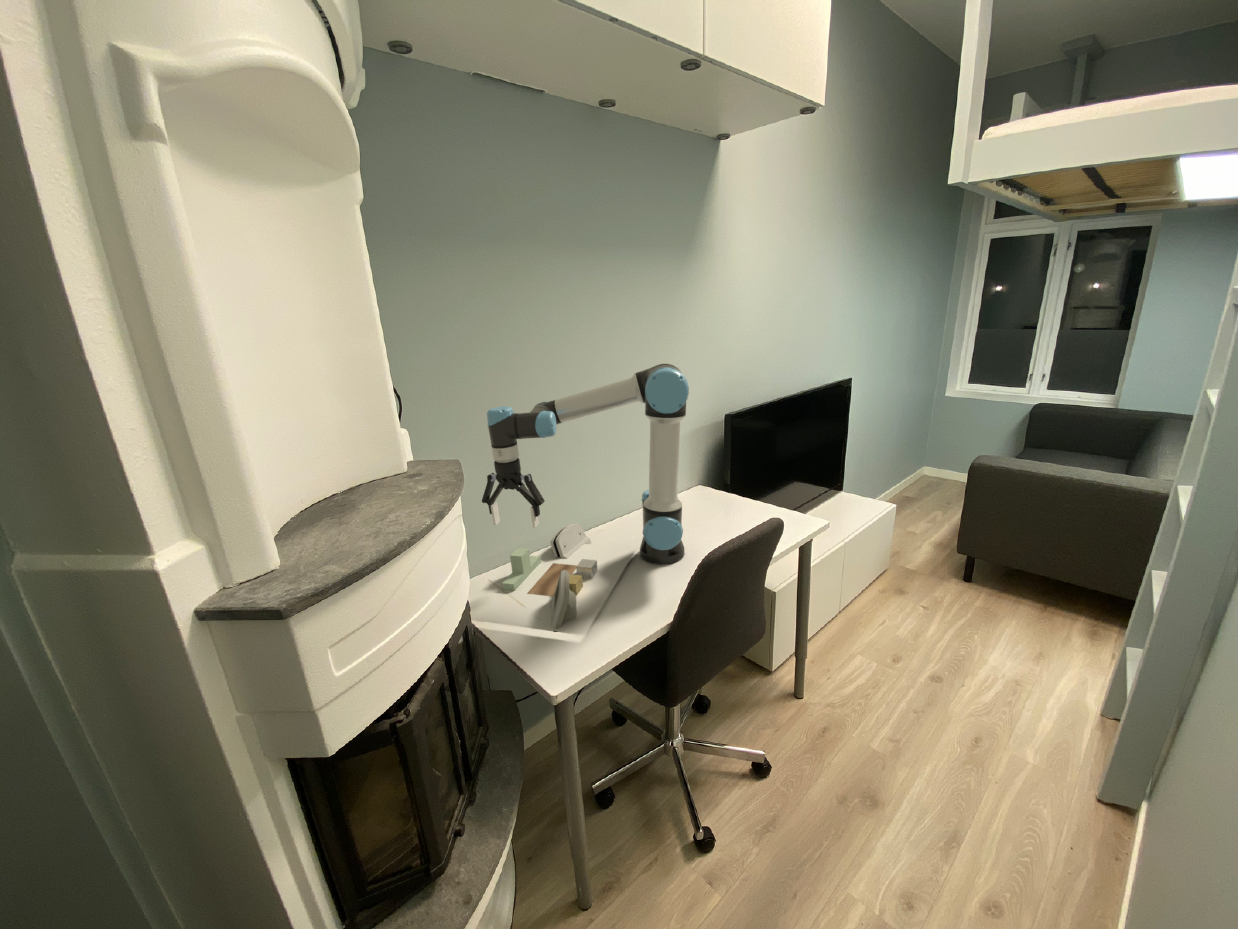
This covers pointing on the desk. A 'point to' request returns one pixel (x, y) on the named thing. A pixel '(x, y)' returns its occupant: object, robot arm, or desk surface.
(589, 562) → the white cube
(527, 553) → the stepped sage beam
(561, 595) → the grey picture frame
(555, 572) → the deck
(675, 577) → the desk surface
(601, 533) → the desk surface
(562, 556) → the white curved block
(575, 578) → the mustard yellow cube
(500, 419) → the robot arm
